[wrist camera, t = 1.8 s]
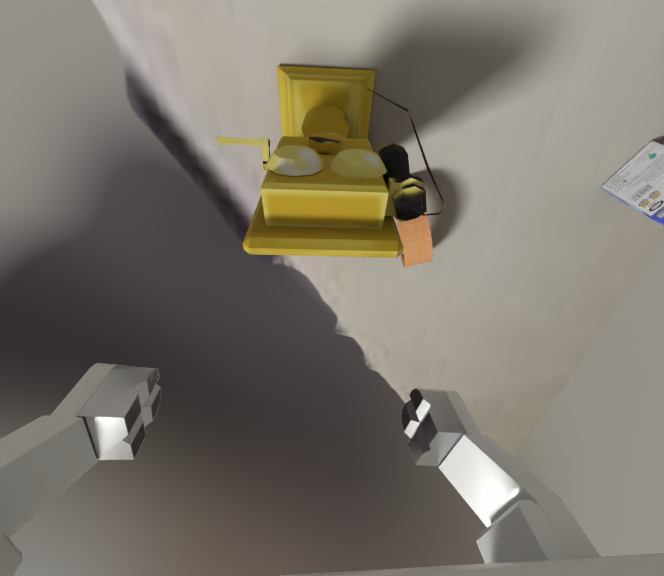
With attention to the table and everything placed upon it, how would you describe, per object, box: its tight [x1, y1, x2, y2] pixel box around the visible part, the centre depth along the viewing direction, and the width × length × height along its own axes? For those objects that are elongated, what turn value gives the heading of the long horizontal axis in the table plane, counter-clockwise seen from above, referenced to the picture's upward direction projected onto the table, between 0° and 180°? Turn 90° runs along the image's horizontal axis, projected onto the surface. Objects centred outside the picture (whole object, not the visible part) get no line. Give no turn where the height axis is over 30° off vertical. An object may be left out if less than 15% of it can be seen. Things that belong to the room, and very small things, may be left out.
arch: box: [396, 174, 433, 267], centre depth 59 cm, size 6×20×10 cm, turn 18°
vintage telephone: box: [217, 66, 445, 258], centre depth 38 cm, size 31×14×30 cm, turn 88°
